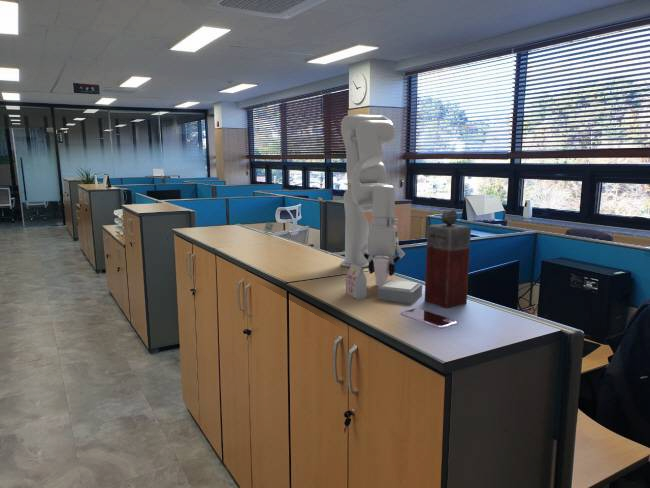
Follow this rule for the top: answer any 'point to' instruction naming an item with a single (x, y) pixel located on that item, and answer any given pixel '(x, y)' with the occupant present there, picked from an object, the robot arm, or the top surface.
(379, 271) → the smoothie
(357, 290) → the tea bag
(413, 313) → the mobile phone
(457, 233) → the red square canister
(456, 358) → the top surface
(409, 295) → the plinth
